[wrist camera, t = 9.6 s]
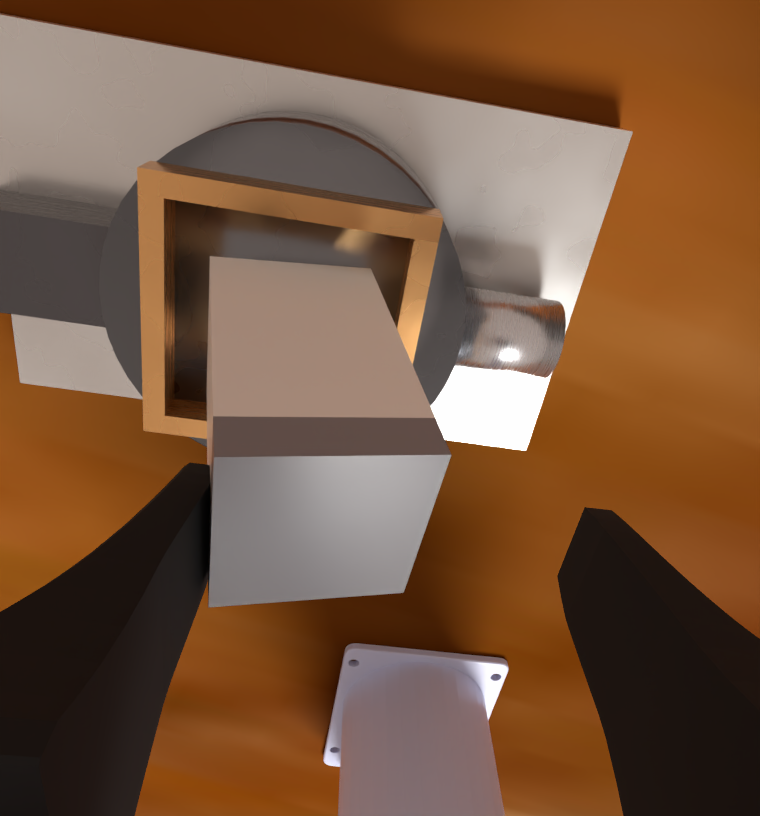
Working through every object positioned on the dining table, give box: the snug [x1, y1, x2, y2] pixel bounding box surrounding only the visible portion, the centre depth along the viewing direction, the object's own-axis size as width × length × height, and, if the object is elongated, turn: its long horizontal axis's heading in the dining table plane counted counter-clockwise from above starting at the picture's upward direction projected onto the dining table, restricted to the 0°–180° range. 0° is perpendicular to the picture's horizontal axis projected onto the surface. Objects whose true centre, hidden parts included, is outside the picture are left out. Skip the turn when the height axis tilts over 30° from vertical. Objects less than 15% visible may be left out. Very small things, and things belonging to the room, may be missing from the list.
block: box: [207, 256, 451, 607], centre depth 14 cm, size 4×4×7 cm
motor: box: [0, 13, 633, 450], centre depth 18 cm, size 11×18×5 cm, turn 81°
